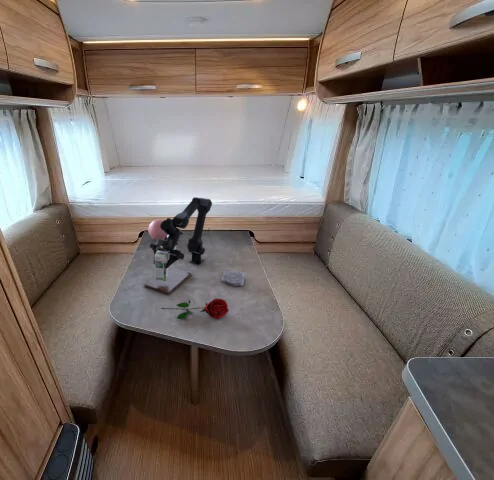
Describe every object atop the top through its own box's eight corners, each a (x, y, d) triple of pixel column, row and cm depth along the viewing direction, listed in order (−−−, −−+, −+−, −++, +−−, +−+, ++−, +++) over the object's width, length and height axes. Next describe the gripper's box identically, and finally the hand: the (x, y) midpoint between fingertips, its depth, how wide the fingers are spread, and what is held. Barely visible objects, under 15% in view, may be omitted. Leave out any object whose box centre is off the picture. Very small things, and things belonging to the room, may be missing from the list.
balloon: (168, 232, 207) (167, 214, 201) (171, 243, 189) (170, 222, 183) (148, 234, 204) (147, 215, 198) (149, 244, 186) (148, 224, 180)
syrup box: (154, 280, 134) (154, 255, 128) (157, 273, 140) (157, 249, 133) (165, 281, 134) (165, 256, 127) (168, 275, 139) (168, 250, 133)
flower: (161, 299, 108) (232, 298, 113) (160, 296, 118) (225, 295, 123) (161, 322, 107) (232, 320, 112) (160, 317, 117) (225, 315, 122)
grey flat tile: (168, 268, 155) (168, 266, 155) (190, 275, 148) (191, 272, 148) (144, 286, 138) (144, 284, 137) (168, 295, 131) (168, 292, 130)
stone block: (242, 290, 138) (245, 277, 145) (242, 283, 135) (245, 270, 143) (220, 286, 141) (224, 274, 149) (219, 279, 139) (224, 267, 147)
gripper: (150, 228, 134) (137, 255, 130) (180, 235, 125) (167, 266, 121) (161, 237, 143) (148, 263, 139) (190, 245, 134) (177, 273, 130)
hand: (159, 266), depth 132 cm, fingers closed on syrup box, 7 cm apart
